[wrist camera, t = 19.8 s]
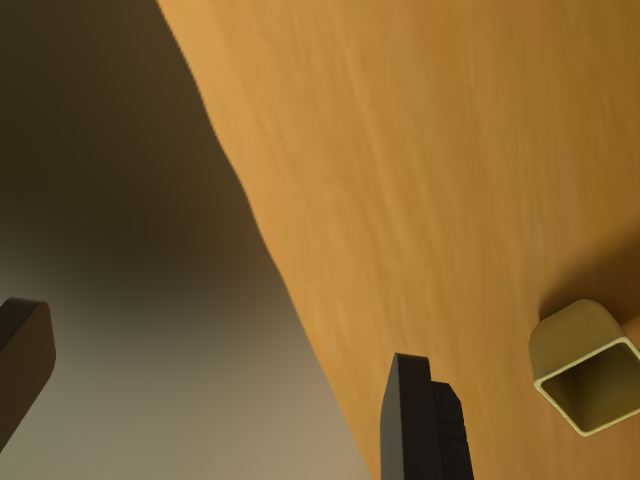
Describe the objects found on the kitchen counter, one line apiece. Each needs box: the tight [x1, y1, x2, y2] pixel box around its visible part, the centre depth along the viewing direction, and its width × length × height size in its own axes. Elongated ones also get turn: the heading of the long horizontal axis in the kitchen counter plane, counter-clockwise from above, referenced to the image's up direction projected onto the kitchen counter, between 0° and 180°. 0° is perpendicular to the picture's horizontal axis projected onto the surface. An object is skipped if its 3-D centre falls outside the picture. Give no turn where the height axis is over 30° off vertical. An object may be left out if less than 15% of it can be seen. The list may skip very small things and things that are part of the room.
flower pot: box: [529, 299, 640, 437], centre depth 55 cm, size 9×9×9 cm
